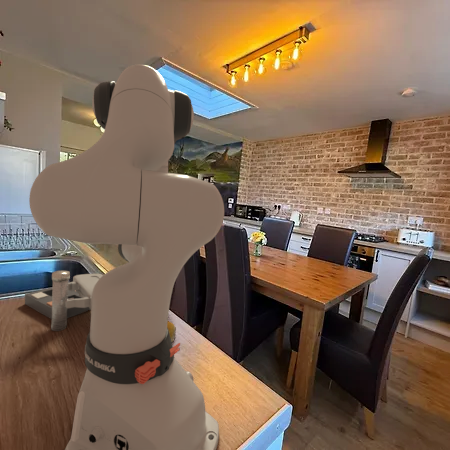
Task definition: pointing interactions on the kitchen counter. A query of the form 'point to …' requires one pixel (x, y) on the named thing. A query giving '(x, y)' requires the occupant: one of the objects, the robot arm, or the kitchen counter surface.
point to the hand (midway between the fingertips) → (61, 296)
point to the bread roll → (171, 330)
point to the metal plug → (59, 300)
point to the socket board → (50, 302)
